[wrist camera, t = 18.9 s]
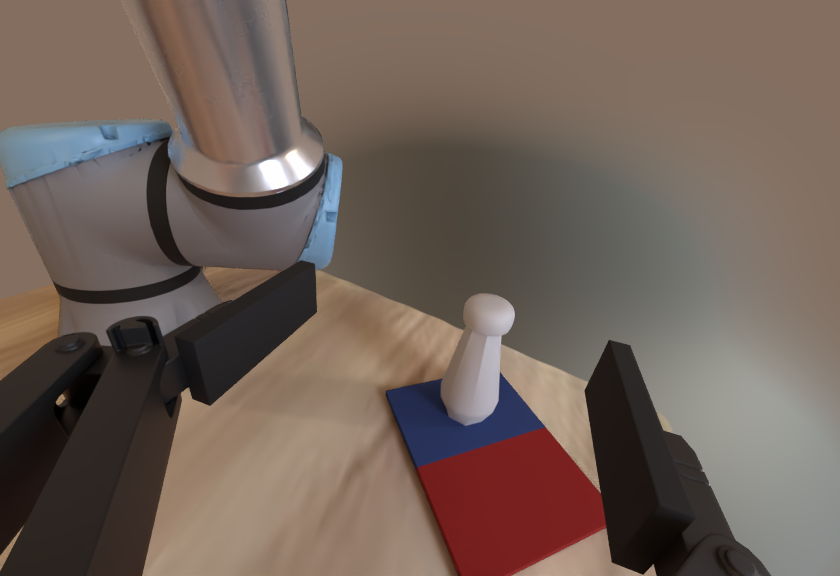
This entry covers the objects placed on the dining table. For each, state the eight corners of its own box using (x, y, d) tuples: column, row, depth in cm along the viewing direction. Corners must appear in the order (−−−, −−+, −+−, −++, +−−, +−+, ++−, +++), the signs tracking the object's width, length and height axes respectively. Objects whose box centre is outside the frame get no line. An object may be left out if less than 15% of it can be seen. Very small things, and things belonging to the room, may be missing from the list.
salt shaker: (468, 381, 38) (493, 280, 32) (504, 418, 34) (541, 310, 28) (425, 399, 35) (444, 291, 29) (460, 442, 31) (490, 327, 25)
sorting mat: (385, 394, 36) (385, 390, 36) (494, 370, 42) (496, 367, 41) (467, 598, 22) (468, 593, 22) (618, 521, 27) (621, 517, 27)
